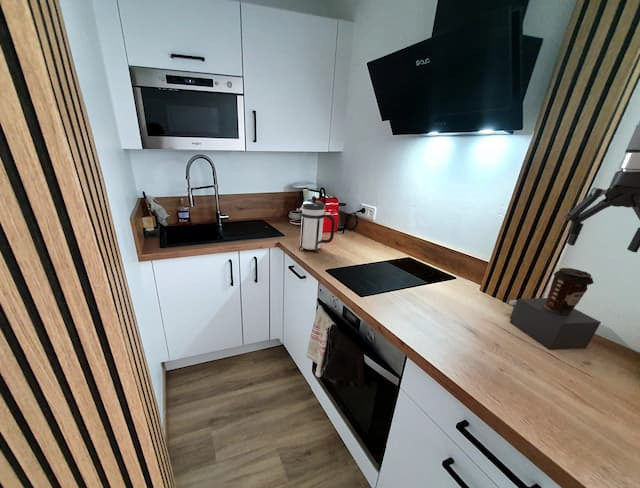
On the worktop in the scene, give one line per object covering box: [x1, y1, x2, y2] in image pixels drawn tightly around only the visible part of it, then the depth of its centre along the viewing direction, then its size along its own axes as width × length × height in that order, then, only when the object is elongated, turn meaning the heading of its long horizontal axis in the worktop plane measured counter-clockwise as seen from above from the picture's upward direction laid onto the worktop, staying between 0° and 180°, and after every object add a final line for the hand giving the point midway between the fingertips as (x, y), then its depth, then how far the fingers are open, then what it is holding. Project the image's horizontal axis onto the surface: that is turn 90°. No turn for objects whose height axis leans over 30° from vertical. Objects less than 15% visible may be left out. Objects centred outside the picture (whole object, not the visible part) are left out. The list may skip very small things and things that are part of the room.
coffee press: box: [298, 196, 336, 254], centre depth 159 cm, size 17×16×30 cm
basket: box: [508, 298, 520, 320], centre depth 95 cm, size 18×11×8 cm, turn 5°
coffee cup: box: [544, 267, 595, 314], centre depth 87 cm, size 9×8×13 cm
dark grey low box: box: [509, 297, 602, 351], centre depth 92 cm, size 15×13×10 cm
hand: (600, 247), depth 83 cm, fingers open, 13 cm apart
